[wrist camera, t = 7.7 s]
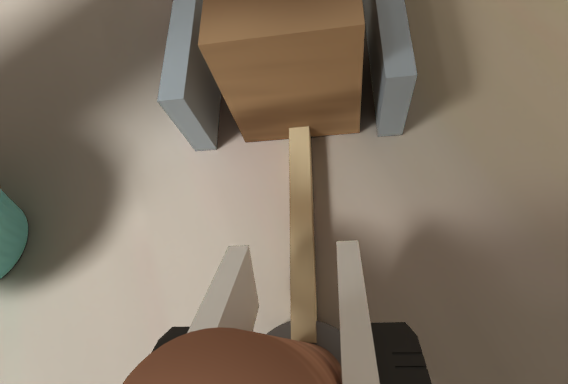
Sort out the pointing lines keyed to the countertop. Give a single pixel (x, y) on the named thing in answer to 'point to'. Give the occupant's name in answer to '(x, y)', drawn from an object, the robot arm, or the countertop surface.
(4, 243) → the cupcake
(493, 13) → the countertop surface
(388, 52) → the lane
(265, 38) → the tethered block
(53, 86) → the countertop surface
